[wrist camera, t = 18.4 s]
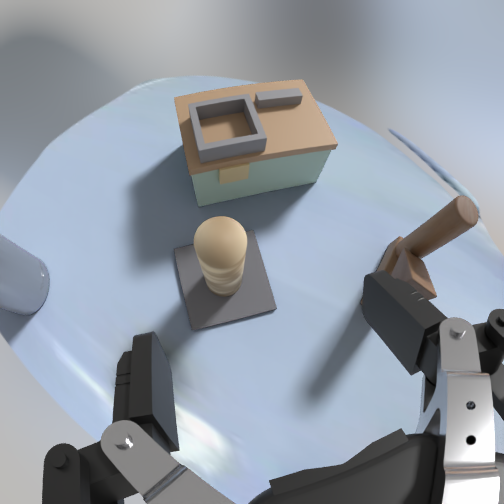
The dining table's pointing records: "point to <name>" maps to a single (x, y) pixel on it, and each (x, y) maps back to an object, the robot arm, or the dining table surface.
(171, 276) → the dining table surface
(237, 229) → the tan ridged cylinder
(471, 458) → the robot arm
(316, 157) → the pale green box
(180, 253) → the charcoal mat
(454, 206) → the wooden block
